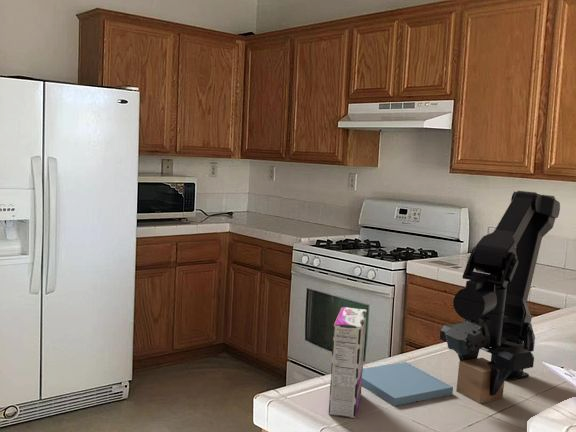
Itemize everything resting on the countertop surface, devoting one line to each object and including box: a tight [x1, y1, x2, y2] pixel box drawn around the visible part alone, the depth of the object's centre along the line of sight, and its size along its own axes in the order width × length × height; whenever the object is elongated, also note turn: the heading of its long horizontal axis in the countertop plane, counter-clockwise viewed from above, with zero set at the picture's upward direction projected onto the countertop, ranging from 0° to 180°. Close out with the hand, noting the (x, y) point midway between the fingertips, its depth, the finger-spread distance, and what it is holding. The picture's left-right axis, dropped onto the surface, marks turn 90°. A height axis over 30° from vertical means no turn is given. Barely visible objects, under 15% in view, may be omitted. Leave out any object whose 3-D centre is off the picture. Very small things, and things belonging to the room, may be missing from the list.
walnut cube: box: [456, 357, 505, 404], centre depth 121 cm, size 6×6×6 cm
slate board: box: [361, 361, 454, 407], centre depth 124 cm, size 14×14×2 cm
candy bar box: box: [328, 306, 368, 419], centre depth 113 cm, size 11×5×16 cm, turn 168°
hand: (479, 388), depth 122 cm, fingers closed on walnut cube, 6 cm apart
